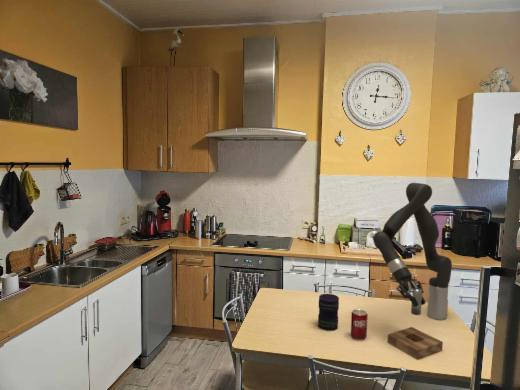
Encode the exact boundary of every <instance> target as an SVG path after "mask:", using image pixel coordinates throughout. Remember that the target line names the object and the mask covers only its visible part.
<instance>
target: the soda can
mask: <svg viewBox="0 0 520 390" xmlns="http://www.w3.org/2000/svg"><path fill="white" fill-rule="evenodd" d="M350 316H351V321H350V337H351V338H352V339H354V340H357V341H364V340H365V339H367V337H368V335H367V334H368V319H369V318H368V316H369V315H368V313H367V311H365V310H363V309H359V308H357V309H353V310H352V311H351V315H350Z"/></svg>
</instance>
